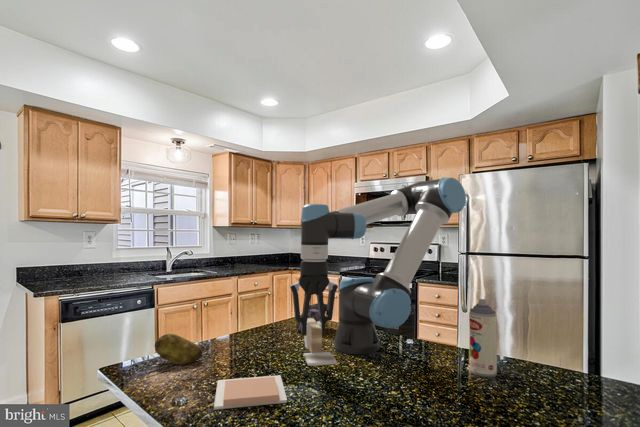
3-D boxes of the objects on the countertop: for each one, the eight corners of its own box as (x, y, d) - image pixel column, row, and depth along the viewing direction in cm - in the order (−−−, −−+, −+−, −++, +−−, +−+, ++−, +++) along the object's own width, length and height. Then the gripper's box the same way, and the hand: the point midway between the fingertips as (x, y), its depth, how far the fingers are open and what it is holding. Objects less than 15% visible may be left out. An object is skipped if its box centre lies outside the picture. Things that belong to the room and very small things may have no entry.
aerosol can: (464, 368, 103) (464, 297, 103) (486, 366, 104) (485, 297, 105) (479, 378, 96) (478, 302, 97) (502, 376, 97) (501, 301, 98)
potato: (188, 370, 100) (189, 340, 100) (149, 365, 103) (150, 337, 103) (205, 359, 108) (205, 332, 108) (168, 355, 111) (169, 329, 111)
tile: (274, 376, 90) (278, 394, 81) (274, 383, 90) (278, 401, 81) (225, 380, 88) (223, 399, 78) (225, 387, 88) (223, 407, 78)
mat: (280, 377, 95) (280, 375, 95) (287, 402, 82) (287, 399, 82) (217, 382, 92) (217, 380, 92) (213, 409, 78) (213, 406, 78)
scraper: (296, 341, 104) (296, 318, 104) (320, 340, 105) (320, 317, 106) (308, 365, 85) (308, 337, 86) (336, 363, 87) (337, 336, 87)
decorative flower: (300, 300, 149) (331, 292, 143) (310, 325, 150) (342, 319, 144) (285, 317, 136) (319, 310, 130) (296, 345, 137) (331, 339, 131)
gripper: (287, 261, 94) (286, 353, 93) (345, 261, 97) (344, 349, 96) (284, 259, 101) (282, 344, 100) (338, 259, 104) (337, 341, 103)
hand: (313, 346), depth 98 cm, fingers closed on scraper, 3 cm apart
